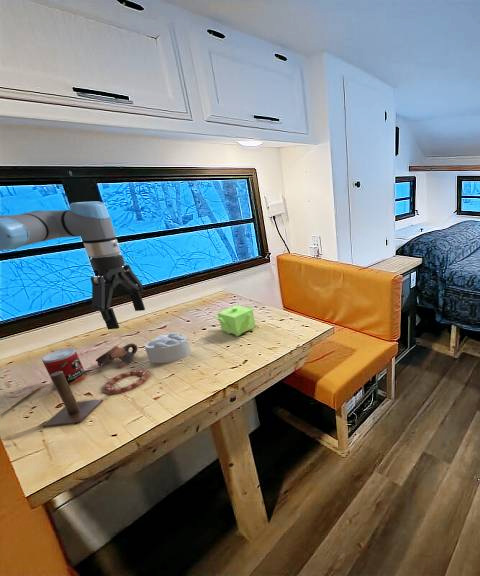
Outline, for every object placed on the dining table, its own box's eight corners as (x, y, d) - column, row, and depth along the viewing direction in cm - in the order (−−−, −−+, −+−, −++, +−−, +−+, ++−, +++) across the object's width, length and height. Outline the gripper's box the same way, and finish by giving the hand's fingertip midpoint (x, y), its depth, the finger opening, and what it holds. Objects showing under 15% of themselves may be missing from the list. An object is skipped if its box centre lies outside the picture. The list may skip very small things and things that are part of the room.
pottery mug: (115, 376, 106) (95, 359, 103) (108, 379, 111) (89, 363, 108) (148, 351, 115) (130, 335, 112) (140, 355, 120) (123, 340, 117)
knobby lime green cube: (256, 335, 130) (251, 311, 126) (219, 342, 125) (213, 317, 121) (257, 321, 143) (253, 299, 139) (224, 326, 139) (218, 304, 135)
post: (44, 430, 83) (21, 386, 78) (71, 406, 91) (51, 365, 86) (81, 425, 84) (61, 382, 79) (104, 403, 92) (87, 362, 87)
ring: (95, 398, 94) (93, 393, 94) (119, 376, 105) (117, 371, 104) (136, 394, 96) (134, 389, 95) (156, 372, 107) (154, 367, 106)
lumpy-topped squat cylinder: (165, 350, 120) (159, 330, 117) (197, 349, 120) (192, 330, 117) (145, 365, 111) (138, 344, 108) (180, 365, 110) (174, 344, 107)
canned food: (74, 388, 99) (60, 360, 95) (48, 390, 99) (33, 361, 95) (93, 374, 106) (82, 347, 102) (69, 376, 106) (57, 348, 102)
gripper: (88, 265, 80) (114, 336, 87) (143, 245, 103) (160, 303, 111) (56, 267, 79) (85, 338, 86) (119, 246, 102) (138, 304, 110)
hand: (127, 318), depth 99 cm, fingers open, 13 cm apart
